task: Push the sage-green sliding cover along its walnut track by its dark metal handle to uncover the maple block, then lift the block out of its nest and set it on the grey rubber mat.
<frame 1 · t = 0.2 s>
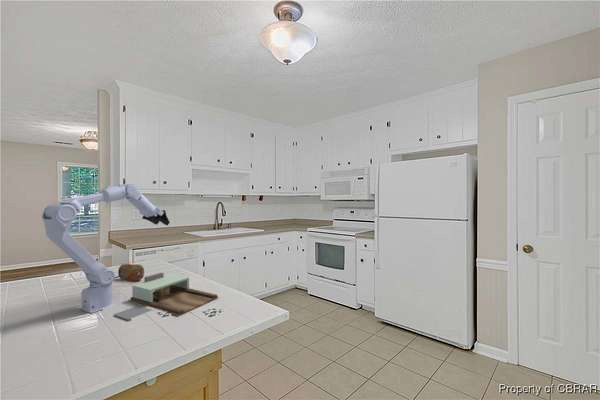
hand: (163, 223, 134), 30 cm above the countertop, tool tilted 45°, fingers open, 7 cm apart
tin: (131, 280, 144), on the countertop
cover: (161, 284, 120), point 5 cm above the countertop, slide at 0.0 cm
mat: (133, 313, 103), on the countertop
puzzle board: (174, 299, 116), on the countertop
block: (162, 295, 120), point 1 cm above the countertop, touching puzzle board
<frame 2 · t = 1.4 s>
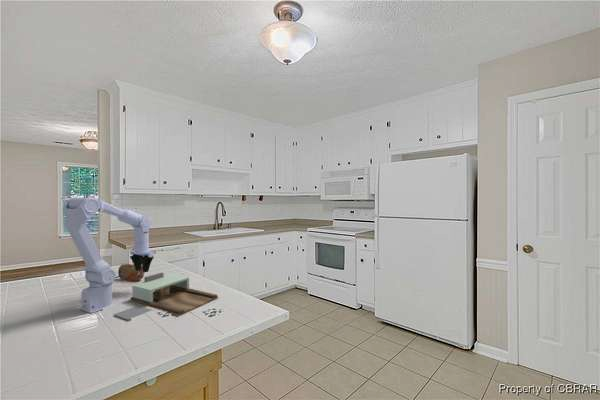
hand: (142, 271, 126), 9 cm above the countertop, tool pointing down, fingers open, 5 cm apart
nothing on the countertop moved.
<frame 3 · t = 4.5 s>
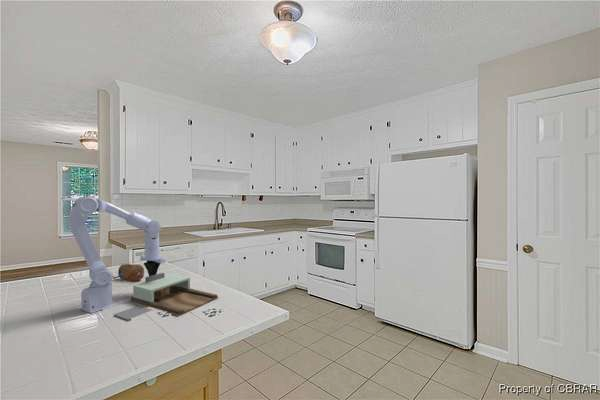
hand: (152, 277, 123), 7 cm above the countertop, tool pointing down, fingers closed
cover: (162, 284, 120), point 5 cm above the countertop, slide at 0.7 cm, touching gripper
everything else where it was.
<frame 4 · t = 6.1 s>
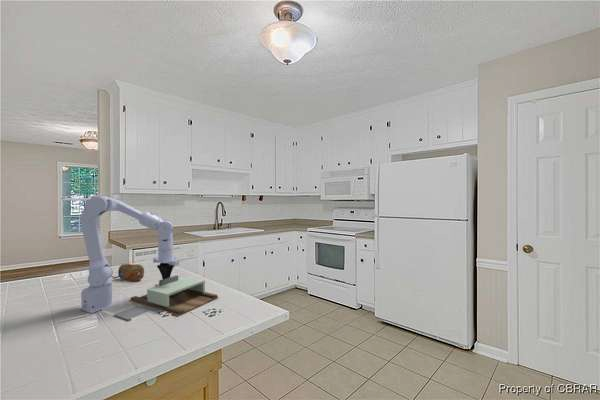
hand: (166, 280, 119), 7 cm above the countertop, tool pointing down, fingers closed
cover: (177, 288, 115), point 5 cm above the countertop, slide at 9.9 cm, touching gripper
everything else where it was.
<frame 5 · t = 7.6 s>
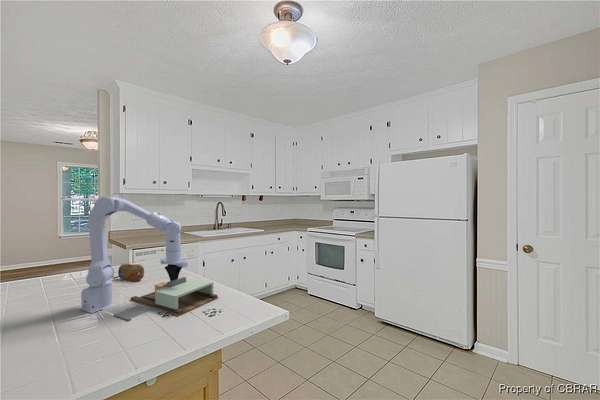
hand: (174, 282, 116), 7 cm above the countertop, tool pointing down, fingers closed
cover: (185, 289, 113), point 5 cm above the countertop, slide at 14.9 cm, touching gripper
everything else where it was.
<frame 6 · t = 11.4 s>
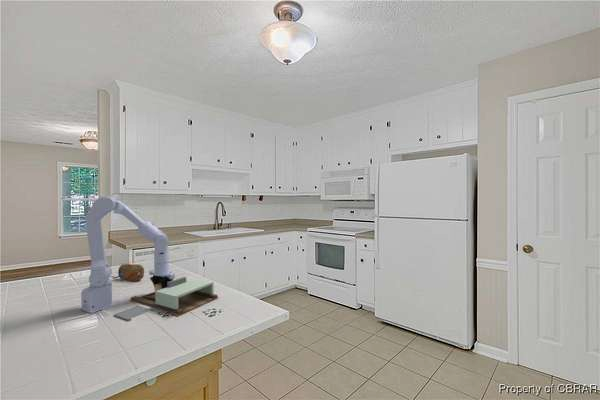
hand: (162, 293, 120), 2 cm above the countertop, tool pointing down, fingers closed on block, 4 cm apart
cover: (185, 289, 113), point 5 cm above the countertop, slide at 15.1 cm
block: (162, 295, 120), point 1 cm above the countertop, touching gripper, puzzle board
everything else where it was.
when the fingers open (3 cm above the countertop, at t = 15.7 s): block drops 1 cm, resting on mat.
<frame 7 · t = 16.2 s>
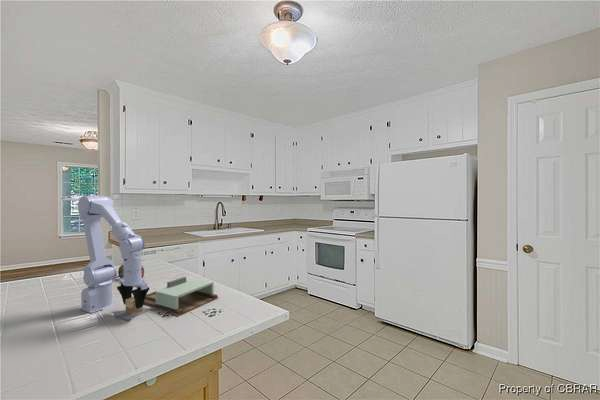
hand: (133, 305, 103), 3 cm above the countertop, tool pointing down, fingers open, 7 cm apart
block: (134, 311, 103), point 1 cm above the countertop, touching mat
everything else where it was.
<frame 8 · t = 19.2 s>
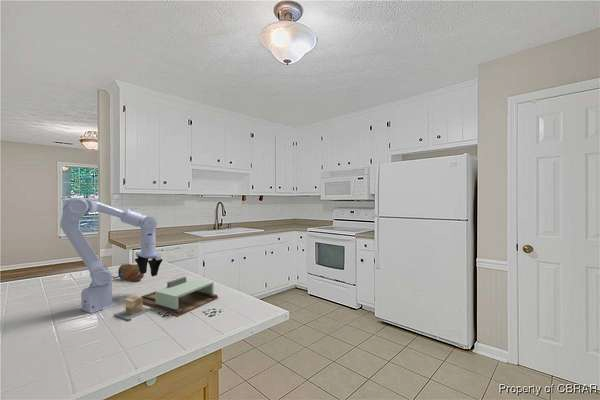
hand: (148, 274, 121), 9 cm above the countertop, tool pointing down, fingers open, 7 cm apart
nothing on the countertop moved.
at the end: cover slide at 15.1 cm; block 0.3 cm off-centre on the mat, point 0.6 cm above the mat's base; block tilted 0° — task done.
